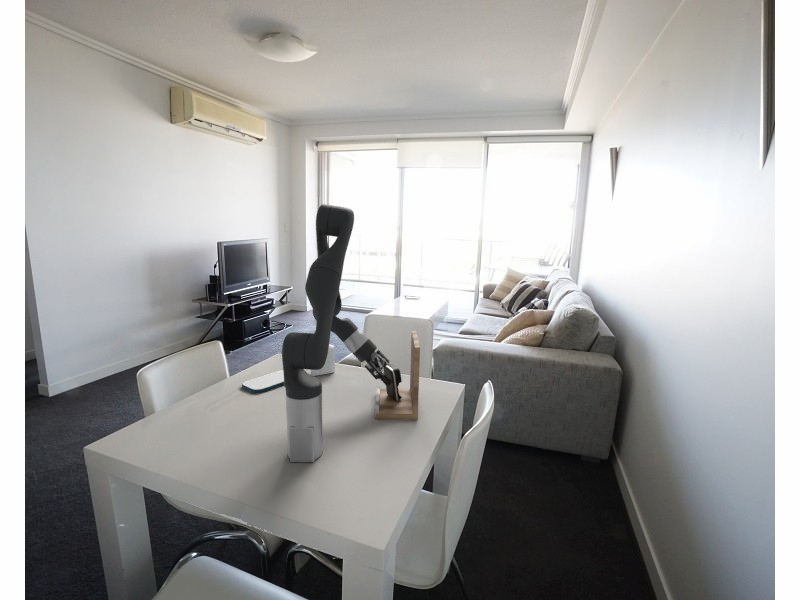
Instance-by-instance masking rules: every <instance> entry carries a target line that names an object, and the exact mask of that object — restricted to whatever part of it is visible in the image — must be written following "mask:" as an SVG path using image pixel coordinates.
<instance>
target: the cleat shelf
mask: <svg viewBox="0 0 800 600" xmlns="http://www.w3.org/2000/svg"><path fill="white" fill-rule="evenodd" d="M410 343H411V345H410V346H411V347H410V372H409V373H410V375H409V377H410V378H409V388H398V392H399V394H400V395H401V396H402V398H401V399H400V400H398V401H394V400H393V399H392V398H391V397H390V396H389V395H387V390H386V388H381V384H377V385H376V395H375V405H374V406H375V408H374V420H396V421H397V420H399V421H400V420H402V421H403V420H405V421H406V420H408V421H413V420H414V421H415V420H416V421H418V420H419V391H420V388H419V387H420V365H421V364H420V363H421V362H420V360H421V359H420V358H421V346H420V340H419V337H418V332H417V330H411V341H410Z"/></svg>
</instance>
